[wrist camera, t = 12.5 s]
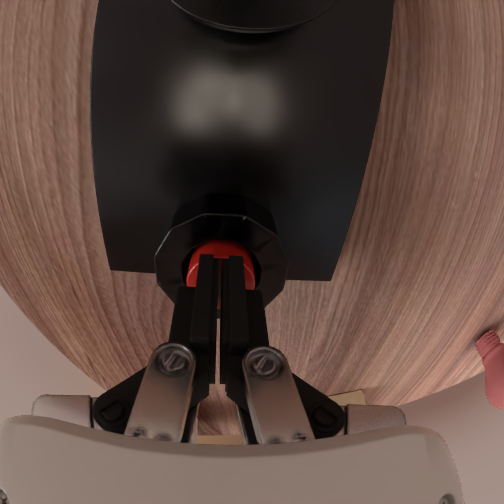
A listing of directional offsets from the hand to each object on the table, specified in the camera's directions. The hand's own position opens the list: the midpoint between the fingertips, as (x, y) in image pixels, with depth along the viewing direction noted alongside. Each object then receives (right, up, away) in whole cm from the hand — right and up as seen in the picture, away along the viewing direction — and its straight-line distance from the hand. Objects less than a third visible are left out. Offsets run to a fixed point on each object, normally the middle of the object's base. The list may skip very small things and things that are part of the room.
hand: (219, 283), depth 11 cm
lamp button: (0, +1, +2) cm, 2 cm away
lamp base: (0, +9, 0) cm, 9 cm away
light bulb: (+33, -10, +16) cm, 38 cm away
